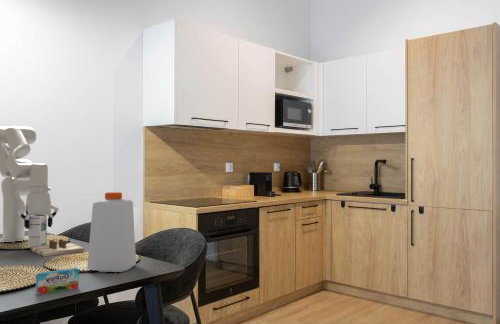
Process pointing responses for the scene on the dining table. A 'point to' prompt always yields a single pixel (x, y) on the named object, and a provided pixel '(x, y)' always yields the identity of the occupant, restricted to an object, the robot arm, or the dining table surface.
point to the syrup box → (37, 230)
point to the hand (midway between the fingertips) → (38, 227)
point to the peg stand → (57, 248)
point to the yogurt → (57, 281)
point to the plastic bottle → (112, 235)
